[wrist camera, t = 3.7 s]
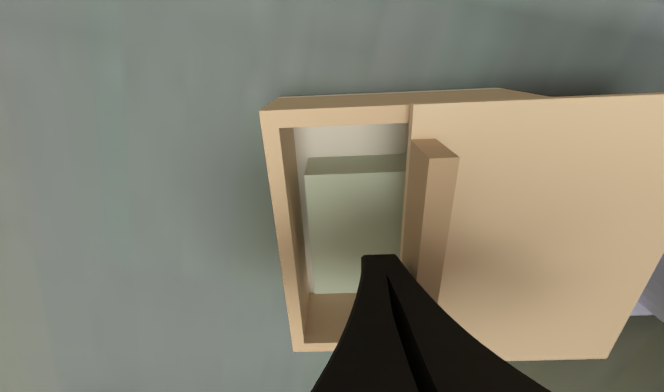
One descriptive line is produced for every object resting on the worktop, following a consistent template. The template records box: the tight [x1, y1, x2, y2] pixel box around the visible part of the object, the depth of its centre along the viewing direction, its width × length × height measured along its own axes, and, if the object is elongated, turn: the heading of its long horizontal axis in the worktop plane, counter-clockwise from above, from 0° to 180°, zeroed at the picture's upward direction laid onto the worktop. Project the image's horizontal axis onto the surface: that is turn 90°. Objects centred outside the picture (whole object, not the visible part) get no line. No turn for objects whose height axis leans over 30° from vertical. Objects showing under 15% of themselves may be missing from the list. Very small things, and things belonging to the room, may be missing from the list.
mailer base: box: [259, 88, 549, 352], centre depth 14 cm, size 10×12×4 cm
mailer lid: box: [400, 92, 664, 361], centre depth 11 cm, size 10×12×2 cm
